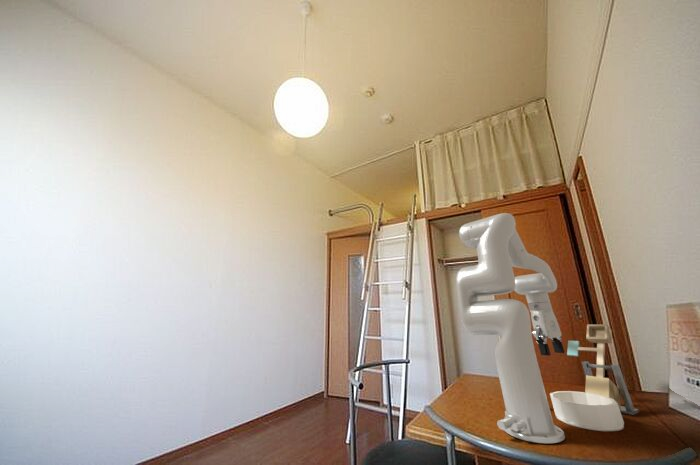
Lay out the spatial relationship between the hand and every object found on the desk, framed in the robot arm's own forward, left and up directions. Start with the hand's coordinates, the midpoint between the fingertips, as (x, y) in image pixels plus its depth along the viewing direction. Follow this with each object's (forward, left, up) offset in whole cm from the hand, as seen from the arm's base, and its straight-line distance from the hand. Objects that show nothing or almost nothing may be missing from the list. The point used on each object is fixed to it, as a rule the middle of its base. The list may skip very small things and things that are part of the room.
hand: (553, 354), depth 97 cm
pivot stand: (-10, -17, -12) cm, 23 cm away
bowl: (-26, -17, -12) cm, 33 cm away
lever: (-5, -14, -2) cm, 15 cm away
